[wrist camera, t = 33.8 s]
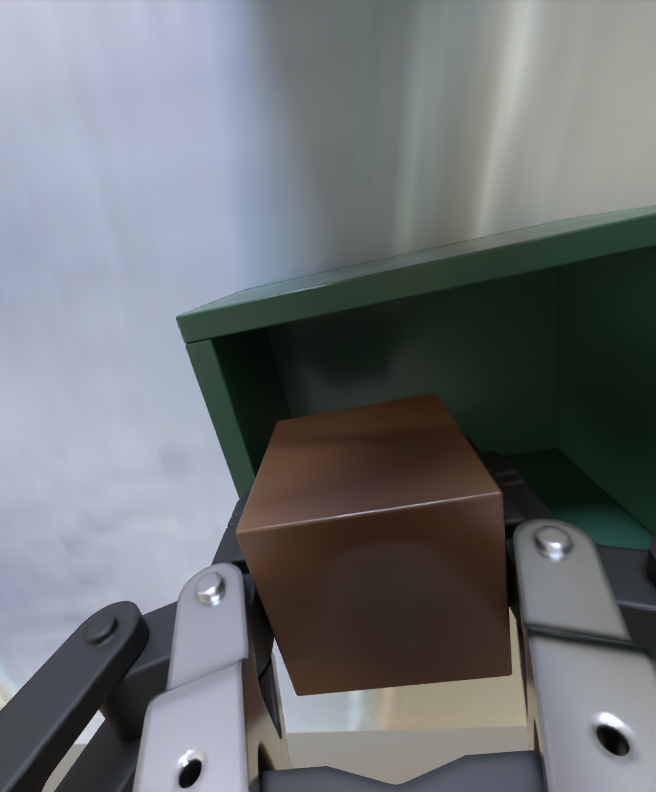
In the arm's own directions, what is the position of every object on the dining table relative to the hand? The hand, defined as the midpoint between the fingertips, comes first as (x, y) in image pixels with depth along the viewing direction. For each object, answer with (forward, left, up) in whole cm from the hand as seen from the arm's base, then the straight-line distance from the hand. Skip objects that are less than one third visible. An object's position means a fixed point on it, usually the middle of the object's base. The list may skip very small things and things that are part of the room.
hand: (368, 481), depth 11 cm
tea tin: (+3, 0, -9) cm, 9 cm away
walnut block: (0, 0, 0) cm, 0 cm away
